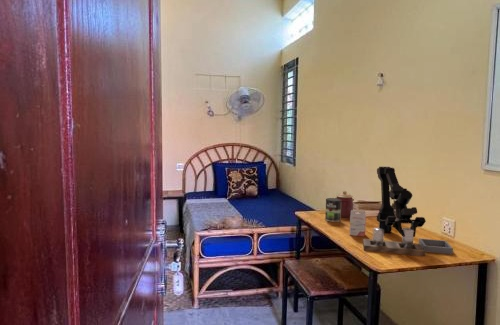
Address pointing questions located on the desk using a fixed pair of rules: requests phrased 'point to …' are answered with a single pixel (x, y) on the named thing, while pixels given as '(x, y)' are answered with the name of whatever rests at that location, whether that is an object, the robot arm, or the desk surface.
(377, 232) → the block
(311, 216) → the desk surface
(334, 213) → the coffee can
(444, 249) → the tray
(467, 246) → the desk surface
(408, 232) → the loose billet
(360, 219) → the ink cartridge box
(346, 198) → the canister
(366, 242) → the divided tray
